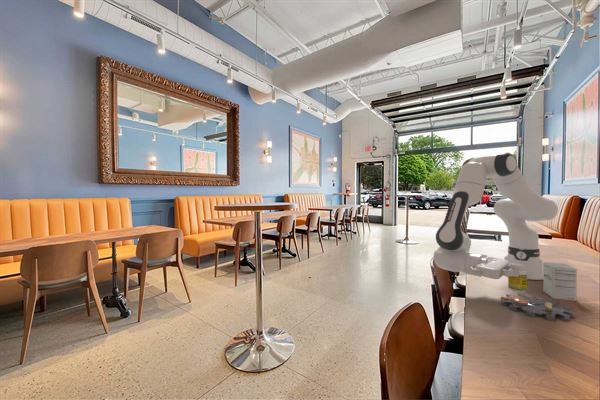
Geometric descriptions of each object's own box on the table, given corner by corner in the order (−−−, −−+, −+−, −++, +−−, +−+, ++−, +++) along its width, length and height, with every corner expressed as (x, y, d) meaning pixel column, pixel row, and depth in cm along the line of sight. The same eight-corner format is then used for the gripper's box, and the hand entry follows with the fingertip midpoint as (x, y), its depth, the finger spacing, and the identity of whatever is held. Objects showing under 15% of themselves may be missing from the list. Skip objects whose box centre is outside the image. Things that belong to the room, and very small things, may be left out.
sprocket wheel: (506, 293, 105) (506, 282, 104) (574, 308, 90) (574, 295, 90) (495, 307, 92) (495, 294, 92) (572, 326, 78) (572, 312, 78)
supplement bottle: (511, 286, 98) (511, 261, 98) (529, 290, 94) (529, 265, 94) (505, 289, 95) (506, 263, 95) (524, 293, 91) (524, 267, 91)
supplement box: (542, 291, 106) (542, 261, 106) (566, 294, 103) (566, 263, 103) (552, 298, 99) (552, 266, 99) (577, 301, 96) (577, 268, 96)
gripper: (468, 261, 97) (515, 269, 87) (483, 253, 111) (525, 259, 100) (468, 278, 97) (515, 287, 87) (483, 268, 111) (525, 275, 100)
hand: (520, 272), depth 94 cm, fingers closed on supplement bottle, 5 cm apart
